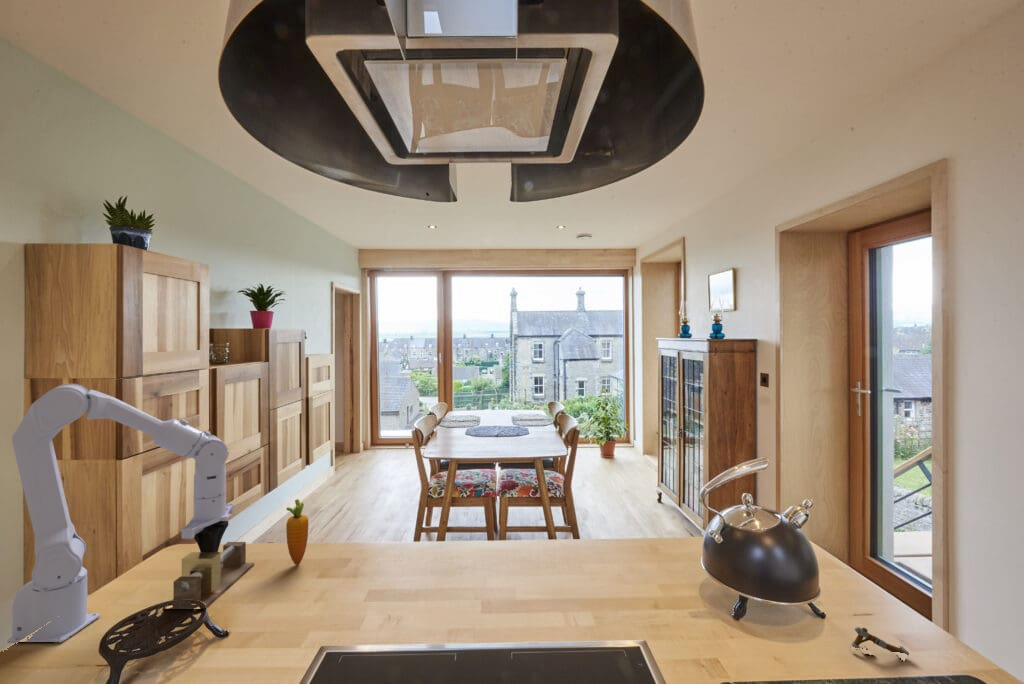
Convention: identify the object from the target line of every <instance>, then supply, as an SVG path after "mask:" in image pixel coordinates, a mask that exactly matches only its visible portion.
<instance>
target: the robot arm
mask: <svg viewBox="0 0 1024 684" xmlns="http://www.w3.org/2000/svg"><path fill="white" fill-rule="evenodd" d="M84 414H87V417H86V420H100V419H101V420H102V419H109V420H112V421H115V422H117V423H119V424H122V425H125V426H127V427H130V428H132V429H134V430H137V431H140V432H142V433H145V434H147V435H150V436H151V437H152V438H153V439H152V440H153V443H154V445H155V446H158V447H160V448H162V449H164V450H166V451H169V452H172V453H174V454H177V455H178V456H181V457H183V458H185V459H194V461H195V462H194V464H195V465H194V467H195V468H194V474H193V517H192V518H191V519H190V521H188V523H187V525H185V526H184V528H181V539H182V540H184V539H185V540H192V539H194V540H195V542H196V544H197V546H198V547H199V552H219V550H220V545H221V542H222V538H223V537H224V533H225V532H226V530H227V529H228V526H229V521H228V520H229V519H230V518H231V517H232V514H233V513H235V503H227V472H226V461H227V459H228V458H229V454H230V453H229V452H230V451H228V448H227V445H226V444H225V443H224V442H223V441H222V440H221V438H218V437H217V435H214V434H211V432H210V431H207V430H204V432H203V431H201V430H200V429H197V428H195V427H193V426H192V425H189V421H188V420H186V419H183V418H181V419H180V420H177V419H175V418H171V419H168V420H161V419H159V418H157V417H155V416H153V415H151V414H149V413H147V412H145V411H142V410H141V409H139V408H137V407H134V406H132V405H130V404H128V403H127V402H124V401H122V400H121V399H118V398H116V397H114V396H112V395H108V394H106V393H104V392H101V391H98V390H94V389H90V390H89V389H88V388H86V387H85V386H83V385H81V384H77V383H63V384H61V385H58V386H55V387H54V388H52V389H51V390H49V391H47V392H45V393H44V394H43V395H42V396H40V397H39V398H38V399H36V400H35V401H34V402H32V403H31V405H30V407H29V409H28V411H27V412H26V414H25V415H24V416H23V419H22V420H21V422H20V424H19V425H18V427H17V428H16V430H15V432H14V433H13V434H12V437H11V443H12V448H13V452H14V456H15V461H16V464H17V468H18V469H17V470H18V472H19V476H20V480H21V483H22V488H23V492H24V498H25V502H26V505H27V510H28V514H29V519H30V522H31V527H32V530H33V535H34V547H33V548H34V549H33V550H34V557H35V563H34V566H33V569H32V570H31V580H30V581H29V582H26V583H25V584H24V585H23V586H22V587H20V589H19V590H18V591H17V593H16V594H15V596H14V599H13V601H12V606H11V607H12V618H11V619H12V621H11V622H12V624H11V625H12V631H11V633H12V635H11V636H12V637H10V638H8V639H7V641H6V642H7V644H17V642H19V641H20V640H22V639H24V638H25V637H26V636H28V635H30V634H31V633H33V632H35V631H36V630H38V629H39V628H41V627H42V628H41V629H39V630H38V631H37V632H35V633H34V634H32V635H33V636H32V637H31V638H30V639H28V638H29V637H27V641H25V642H59V643H63V642H65V641H66V640H68V639H69V638H71V637H72V636H73V635H75V634H76V633H78V632H79V631H81V630H82V629H84V628H86V627H87V626H88V625H89V624H91V623H92V622H94V621H95V620H97V619H98V618H100V617H101V613H88V569H87V568H85V567H84V566H83V560H84V559H83V558H84V556H85V554H86V551H87V545H86V542H85V540H84V539H83V538H82V537H80V536H79V535H78V534H77V532H76V529H75V525H74V523H73V522H72V520H71V517H70V512H69V507H68V502H67V500H66V495H65V490H64V487H63V481H62V477H61V474H60V469H59V464H58V460H57V455H56V451H55V447H54V441H53V439H54V438H55V437H56V436H57V435H58V434H59V433H60V432H61V431H62V430H63V429H64V428H65V427H66V426H68V425H70V424H71V423H74V422H75V421H76V420H79V419H80V418H81V417H82V416H84ZM58 616H59V617H58ZM50 621H51V622H50ZM48 622H50V623H48ZM47 623H48V624H47ZM46 624H47V625H46ZM44 625H45V626H44ZM30 636H31V635H30ZM70 636H71V637H70Z"/></svg>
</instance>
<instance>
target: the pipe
mask: <svg viewBox="0 0 1024 684" xmlns="http://www.w3.org/2000/svg"><path fill="white" fill-rule="evenodd" d="M220 552H221V564H222V563H223V562H224V561H226V560H227V559H228V558H230V557H231V556H232V555H233V554H235V553H236V547H235V546H229V547H228V548H227V549H225V550H224V551H223V550H222V551H220ZM190 576H201V580H202V579H203V571H195V572H194V573H193V574H192V575H190ZM184 583H185V585H184ZM184 583H183V582H181V583H180V584H181V587H180V585H179V587H180V588H183V589H182V590H183V591H182V592H185V591H184V587H185V588H186V591H188V589H189V587H188V586H189V584H188V583H187V586H186V582H184ZM182 585H183V586H182ZM187 587H188V589H187ZM180 588H179V589H180ZM180 591H181V589H180Z"/></svg>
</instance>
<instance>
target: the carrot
mask: <svg viewBox="0 0 1024 684" xmlns="http://www.w3.org/2000/svg"><path fill="white" fill-rule="evenodd" d="M294 502H295V507H294V508H292V507H290V506H289V507H286V511H288V512H290V513H291V514H292V516H290V517H288V519H287V521H286V530H285V531H286V543H287V548H288V554H289V556H290V559H291V561H292V562H293V564H294V565H295V566H299V565H300V564H301V562H302V561H303V559H304V556H305V553H306V551H307V550H306V549H307V544H308V537H309V516H308V515H304V514H302V512H303V509H304V507H305V503H304V502H300V499H295V500H294Z"/></svg>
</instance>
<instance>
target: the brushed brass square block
mask: <svg viewBox="0 0 1024 684" xmlns="http://www.w3.org/2000/svg"><path fill="white" fill-rule="evenodd" d="M221 552H222V551H218V552H200V551H197V552H196V551H191V552H189V553H188V554H187V555H186V556H183V557H182V558H181V577H182V576H190V575H192V574H193V573H194V572H195V571H203V579H202V580H201V592H212V591H213V590H214V589H215V588H217V587H218V586H219V585H220V584H221Z"/></svg>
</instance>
